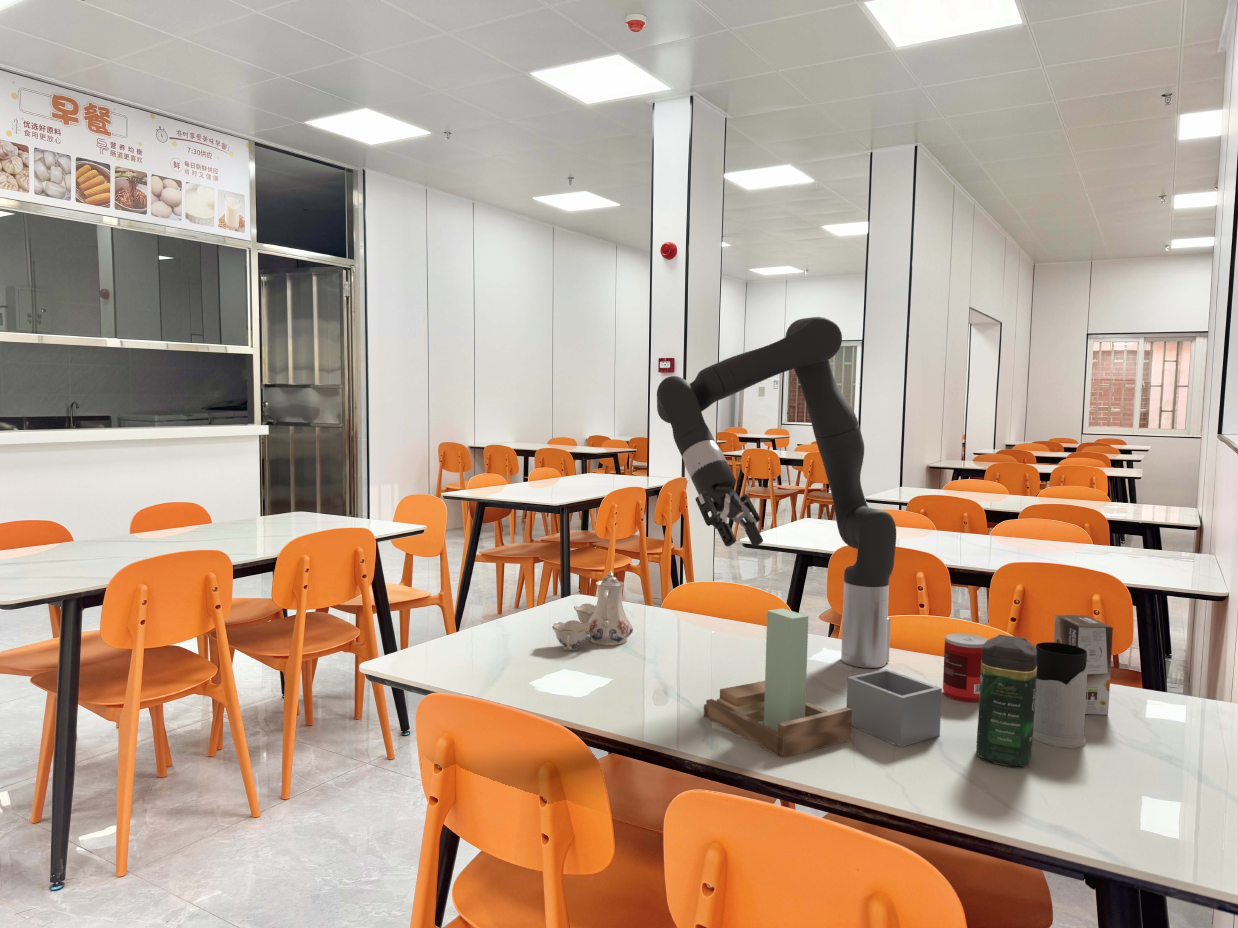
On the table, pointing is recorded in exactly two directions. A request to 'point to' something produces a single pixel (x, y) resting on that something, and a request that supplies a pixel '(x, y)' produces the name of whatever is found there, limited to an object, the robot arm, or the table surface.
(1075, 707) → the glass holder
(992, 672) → the coffee jar
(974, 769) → the table surface
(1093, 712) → the coffee box
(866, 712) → the grey holder
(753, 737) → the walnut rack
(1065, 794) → the table surface
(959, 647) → the canned food
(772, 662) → the tall mint green block
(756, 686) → the offcut stack
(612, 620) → the chinaware
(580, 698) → the table surface
